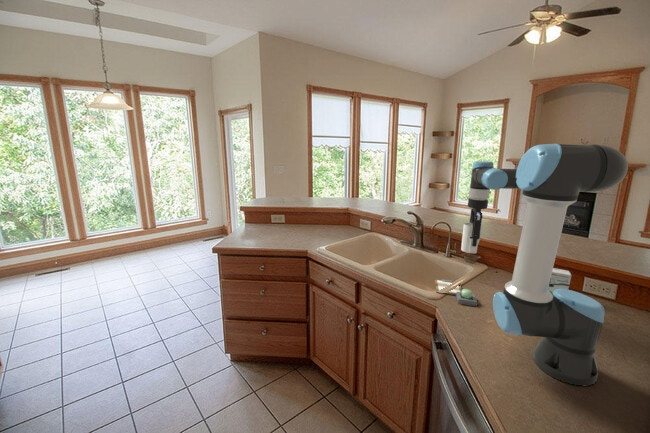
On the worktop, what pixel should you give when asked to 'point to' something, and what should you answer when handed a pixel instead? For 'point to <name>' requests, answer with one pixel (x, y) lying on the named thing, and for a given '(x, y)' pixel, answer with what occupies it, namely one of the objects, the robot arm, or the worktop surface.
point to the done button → (466, 294)
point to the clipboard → (444, 283)
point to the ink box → (559, 280)
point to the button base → (466, 301)
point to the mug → (467, 237)
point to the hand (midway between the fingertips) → (471, 249)
